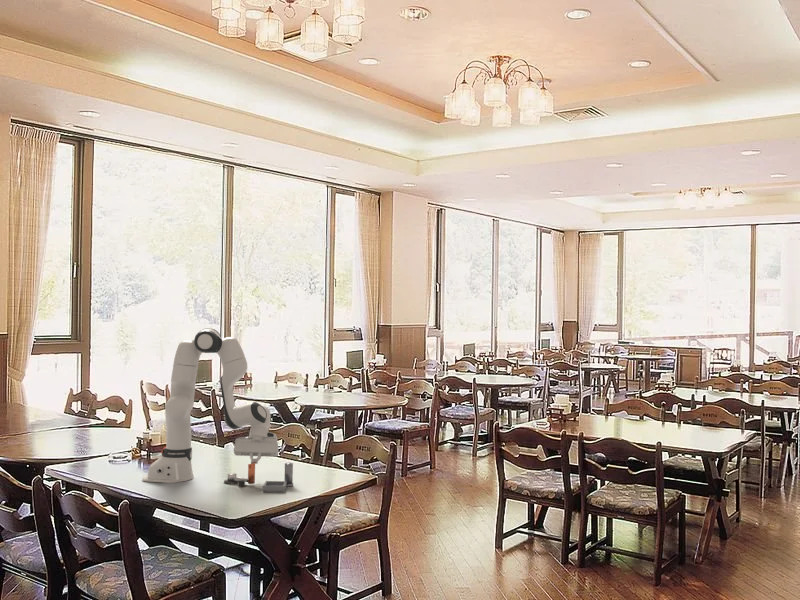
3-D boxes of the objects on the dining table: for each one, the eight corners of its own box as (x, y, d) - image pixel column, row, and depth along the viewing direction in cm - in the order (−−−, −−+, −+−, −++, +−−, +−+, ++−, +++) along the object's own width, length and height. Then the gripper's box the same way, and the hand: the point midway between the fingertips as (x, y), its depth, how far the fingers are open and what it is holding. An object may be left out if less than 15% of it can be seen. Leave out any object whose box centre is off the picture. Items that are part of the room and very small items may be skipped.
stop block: (238, 486, 338) (238, 480, 338) (242, 485, 339) (242, 480, 339) (240, 486, 337) (241, 481, 337) (244, 486, 338) (244, 480, 338)
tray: (263, 492, 328) (263, 485, 328) (265, 487, 337) (265, 481, 337) (284, 492, 328) (284, 486, 328) (286, 487, 337) (286, 481, 337)
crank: (225, 480, 344) (226, 461, 344) (231, 478, 348) (231, 459, 348) (251, 484, 337) (251, 464, 337) (256, 482, 341) (257, 463, 341)
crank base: (222, 484, 341) (222, 482, 341) (225, 480, 348) (225, 478, 348) (238, 484, 341) (238, 482, 341) (240, 480, 348) (241, 479, 348)
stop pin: (282, 486, 338) (283, 464, 338) (283, 484, 343) (284, 462, 343) (292, 487, 338) (293, 464, 339) (293, 484, 343) (294, 462, 343)
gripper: (235, 432, 353) (230, 458, 343) (279, 434, 353) (276, 459, 343) (236, 440, 357) (231, 466, 347) (280, 442, 358) (276, 467, 348)
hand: (254, 463), depth 345 cm, fingers closed
